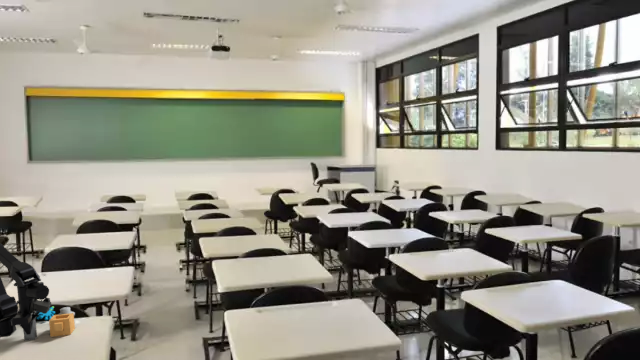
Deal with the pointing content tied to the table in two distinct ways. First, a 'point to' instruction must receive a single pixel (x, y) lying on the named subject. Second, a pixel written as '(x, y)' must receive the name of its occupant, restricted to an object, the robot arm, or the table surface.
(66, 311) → the tan open box
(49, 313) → the gear
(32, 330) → the wedge
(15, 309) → the robot arm
